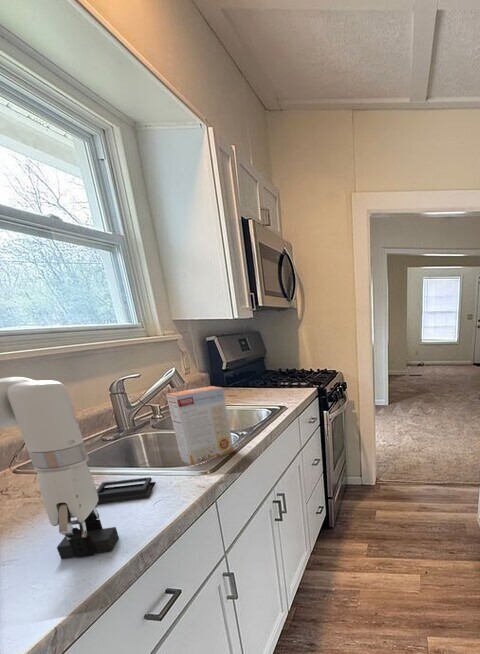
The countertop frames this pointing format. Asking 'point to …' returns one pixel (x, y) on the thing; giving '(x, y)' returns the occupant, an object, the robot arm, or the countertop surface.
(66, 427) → the robot arm
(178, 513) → the countertop surface
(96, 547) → the top pad
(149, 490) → the base pad
